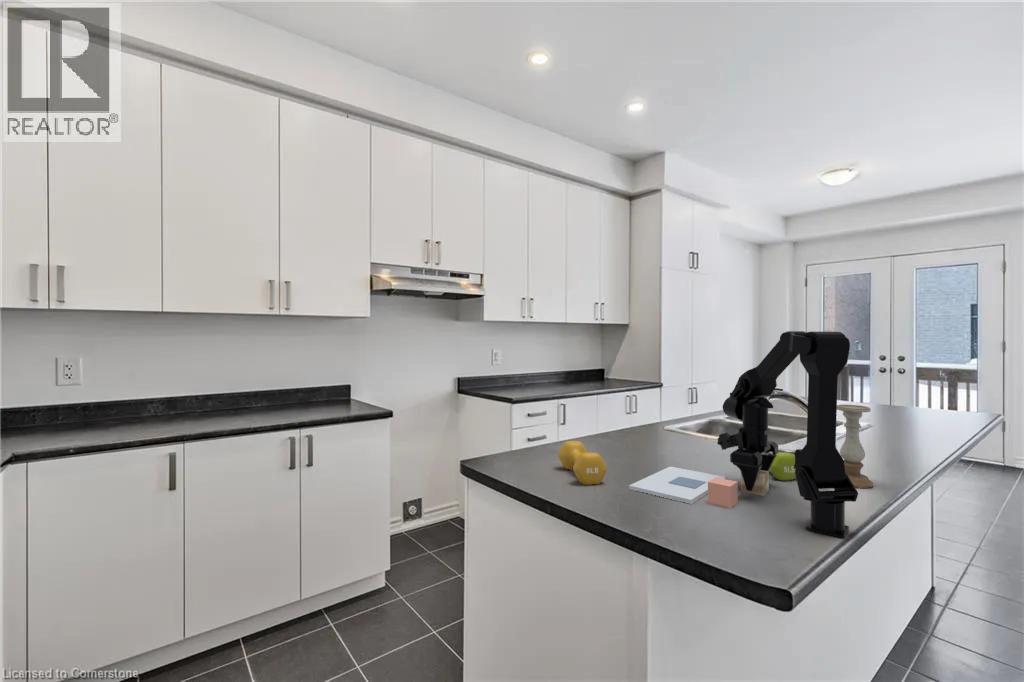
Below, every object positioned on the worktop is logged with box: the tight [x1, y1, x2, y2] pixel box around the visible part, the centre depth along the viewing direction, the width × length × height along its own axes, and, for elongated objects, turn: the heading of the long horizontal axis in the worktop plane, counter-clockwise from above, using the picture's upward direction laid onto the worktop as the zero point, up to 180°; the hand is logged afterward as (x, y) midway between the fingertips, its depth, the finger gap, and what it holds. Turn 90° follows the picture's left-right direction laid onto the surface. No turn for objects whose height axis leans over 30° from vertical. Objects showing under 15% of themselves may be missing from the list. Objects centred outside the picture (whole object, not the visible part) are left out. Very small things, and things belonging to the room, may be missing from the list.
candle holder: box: [837, 404, 874, 489], centre depth 126 cm, size 9×9×20 cm
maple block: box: [740, 470, 770, 497], centre depth 120 cm, size 5×5×5 cm
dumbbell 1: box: [557, 440, 608, 486], centre depth 134 cm, size 19×9×8 cm, turn 10°
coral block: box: [707, 478, 739, 509], centre depth 112 cm, size 5×5×5 cm
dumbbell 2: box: [769, 452, 796, 482], centre depth 136 cm, size 16×8×7 cm, turn 7°
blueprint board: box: [628, 466, 728, 505], centre depth 125 cm, size 24×16×1 cm, turn 137°
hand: (755, 486), depth 120 cm, fingers open, 9 cm apart
